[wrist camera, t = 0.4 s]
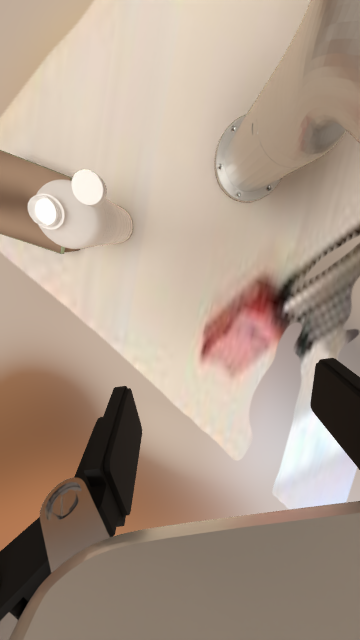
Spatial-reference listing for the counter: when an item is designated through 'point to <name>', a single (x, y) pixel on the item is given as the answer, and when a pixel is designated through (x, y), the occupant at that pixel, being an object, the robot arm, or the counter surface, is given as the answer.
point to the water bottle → (79, 213)
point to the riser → (24, 200)
